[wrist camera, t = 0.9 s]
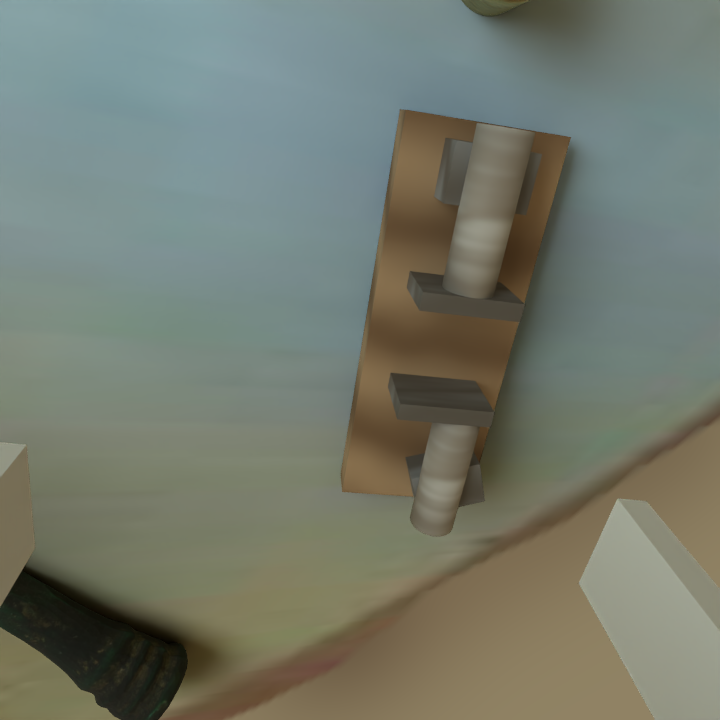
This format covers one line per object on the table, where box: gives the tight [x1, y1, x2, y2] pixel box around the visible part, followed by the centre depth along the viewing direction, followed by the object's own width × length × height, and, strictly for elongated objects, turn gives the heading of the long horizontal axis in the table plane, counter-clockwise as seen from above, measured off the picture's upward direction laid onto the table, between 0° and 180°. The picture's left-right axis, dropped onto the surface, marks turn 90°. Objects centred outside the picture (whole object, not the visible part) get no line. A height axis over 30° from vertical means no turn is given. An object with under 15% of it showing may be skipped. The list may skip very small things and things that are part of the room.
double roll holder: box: [341, 110, 571, 536], centre depth 33 cm, size 24×9×6 cm, turn 171°
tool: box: [0, 571, 188, 720], centre depth 38 cm, size 28×6×7 cm, turn 41°
